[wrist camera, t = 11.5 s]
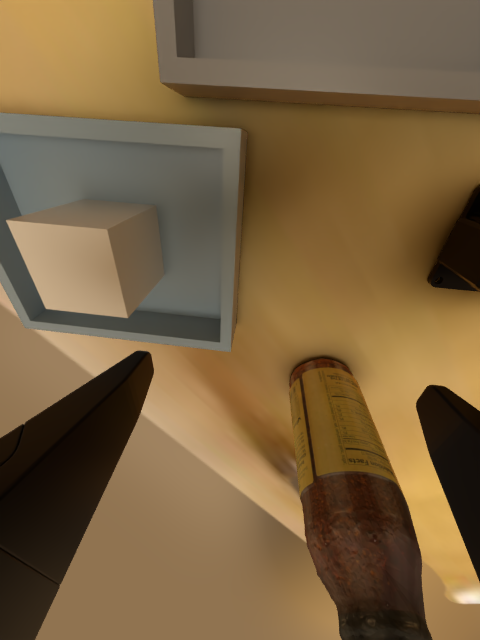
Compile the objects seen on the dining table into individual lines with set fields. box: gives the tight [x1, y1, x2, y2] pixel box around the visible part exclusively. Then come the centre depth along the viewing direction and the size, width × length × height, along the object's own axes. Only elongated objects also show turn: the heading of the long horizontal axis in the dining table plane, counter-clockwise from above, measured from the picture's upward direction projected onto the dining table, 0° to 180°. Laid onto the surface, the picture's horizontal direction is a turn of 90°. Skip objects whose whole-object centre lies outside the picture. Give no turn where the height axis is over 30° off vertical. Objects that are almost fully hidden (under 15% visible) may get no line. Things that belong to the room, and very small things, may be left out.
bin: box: [0, 113, 248, 352], centre depth 17 cm, size 17×14×4 cm
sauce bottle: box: [289, 358, 432, 640], centre depth 16 cm, size 7×6×20 cm
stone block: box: [6, 199, 165, 318], centre depth 16 cm, size 5×5×6 cm
